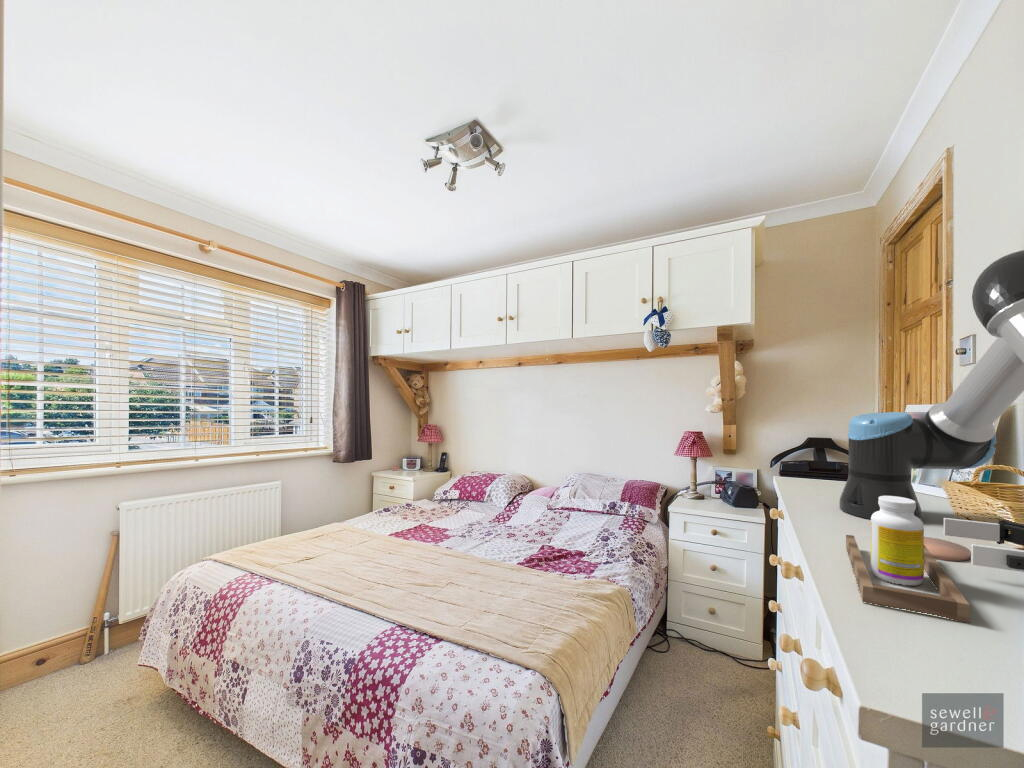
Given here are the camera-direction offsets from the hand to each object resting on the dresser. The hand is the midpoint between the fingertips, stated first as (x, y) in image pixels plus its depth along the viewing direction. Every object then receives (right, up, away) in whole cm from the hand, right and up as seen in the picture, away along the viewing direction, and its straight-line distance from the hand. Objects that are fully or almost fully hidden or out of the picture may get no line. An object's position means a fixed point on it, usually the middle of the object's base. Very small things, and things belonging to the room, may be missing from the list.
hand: (956, 539), depth 72 cm
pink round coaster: (+10, -7, +16) cm, 20 cm away
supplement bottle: (-6, -8, +4) cm, 11 cm away
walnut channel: (-6, -8, +4) cm, 10 cm away
